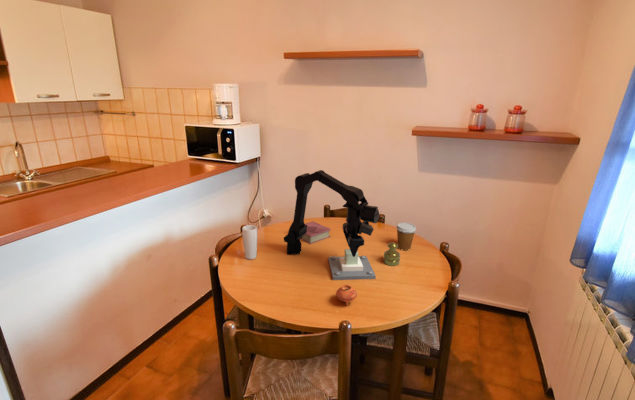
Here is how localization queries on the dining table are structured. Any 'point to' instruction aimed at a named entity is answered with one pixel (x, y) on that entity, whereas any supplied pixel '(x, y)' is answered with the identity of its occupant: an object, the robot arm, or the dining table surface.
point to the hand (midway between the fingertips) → (351, 251)
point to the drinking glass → (250, 241)
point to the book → (315, 232)
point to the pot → (346, 294)
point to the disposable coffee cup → (405, 235)
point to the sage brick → (350, 257)
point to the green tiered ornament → (392, 255)
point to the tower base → (350, 273)
